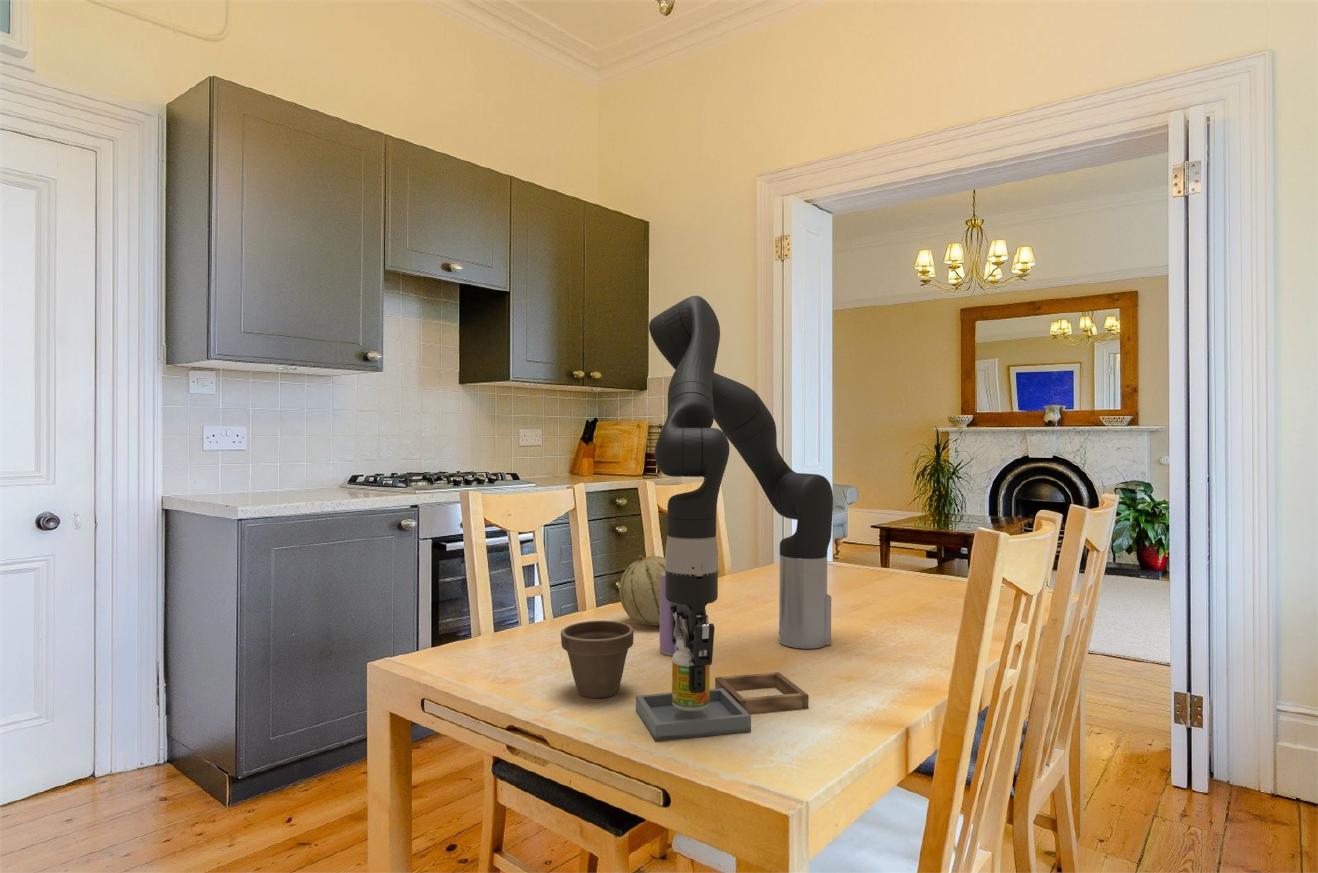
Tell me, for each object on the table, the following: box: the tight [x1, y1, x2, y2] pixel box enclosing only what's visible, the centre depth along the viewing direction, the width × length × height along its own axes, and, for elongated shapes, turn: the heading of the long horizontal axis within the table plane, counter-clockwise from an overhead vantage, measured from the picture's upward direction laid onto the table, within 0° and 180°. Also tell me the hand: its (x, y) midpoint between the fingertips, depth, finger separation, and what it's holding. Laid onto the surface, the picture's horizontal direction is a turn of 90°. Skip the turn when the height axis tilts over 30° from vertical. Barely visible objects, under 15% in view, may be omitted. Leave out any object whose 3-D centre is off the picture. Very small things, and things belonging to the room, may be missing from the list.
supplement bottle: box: [671, 635, 711, 711], centre depth 109 cm, size 5×5×10 cm
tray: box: [635, 688, 752, 742], centre depth 109 cm, size 14×12×2 cm
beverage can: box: [659, 571, 681, 657], centre depth 142 cm, size 6×6×15 cm
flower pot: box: [560, 620, 635, 699], centre depth 120 cm, size 12×11×10 cm
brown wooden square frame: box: [714, 671, 810, 715], centre depth 118 cm, size 11×11×2 cm
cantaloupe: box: [618, 554, 665, 626], centre depth 163 cm, size 15×15×15 cm
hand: (690, 684), depth 109 cm, fingers closed on supplement bottle, 5 cm apart
